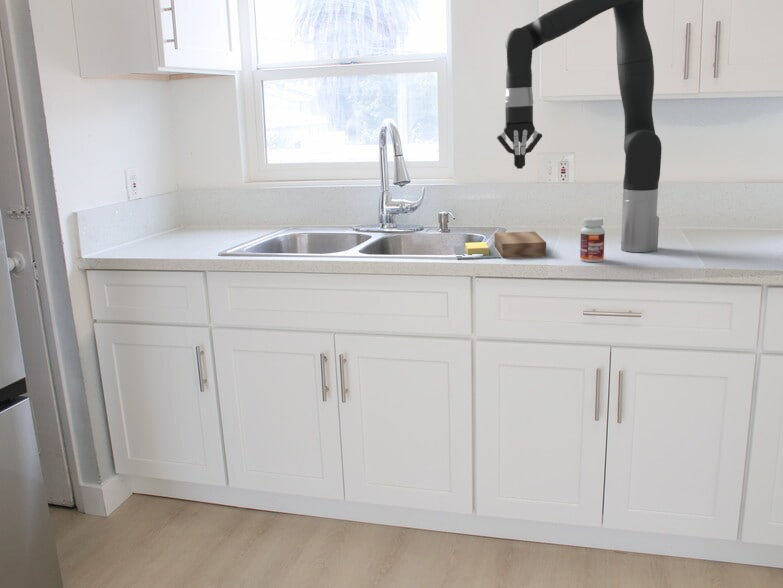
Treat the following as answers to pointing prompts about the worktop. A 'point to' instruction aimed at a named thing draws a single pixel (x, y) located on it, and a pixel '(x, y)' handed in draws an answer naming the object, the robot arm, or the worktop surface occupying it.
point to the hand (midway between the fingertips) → (519, 168)
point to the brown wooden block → (520, 244)
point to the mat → (461, 251)
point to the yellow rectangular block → (477, 248)
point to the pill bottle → (592, 240)
